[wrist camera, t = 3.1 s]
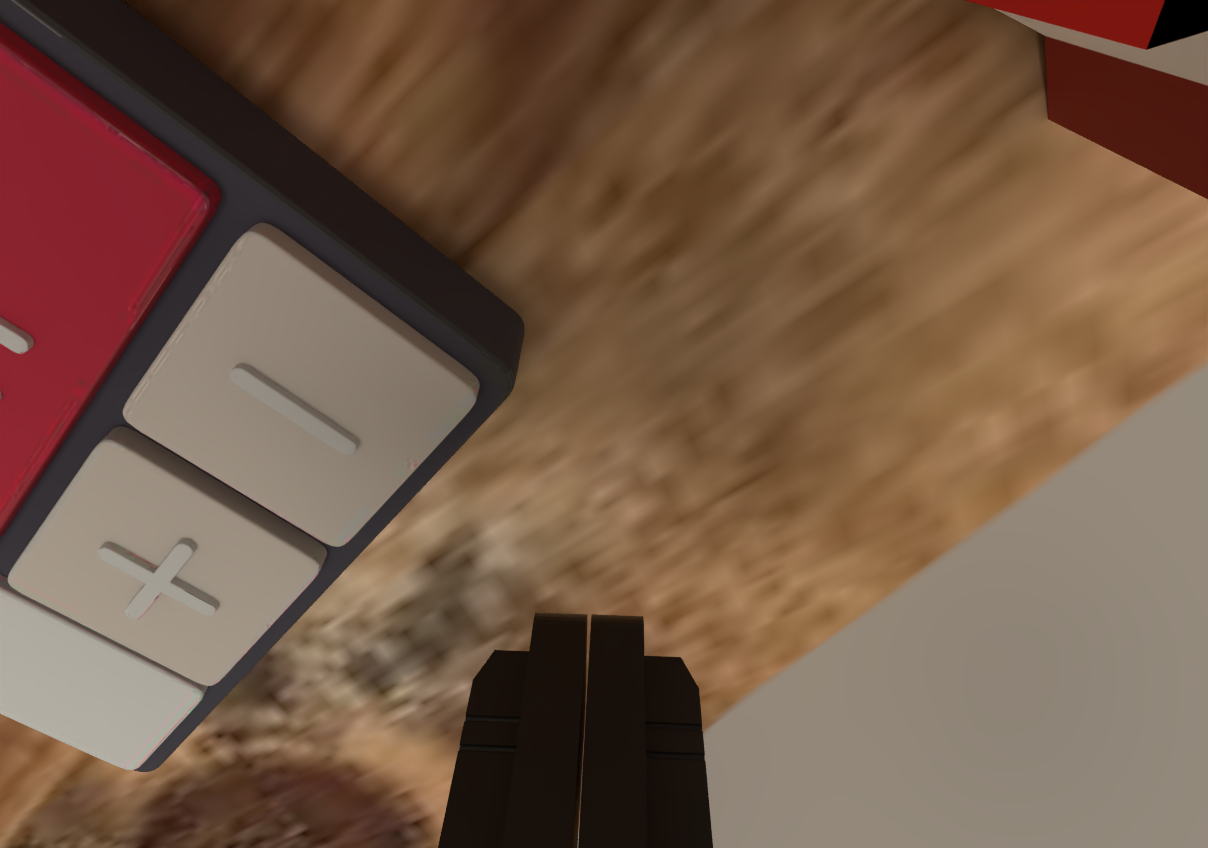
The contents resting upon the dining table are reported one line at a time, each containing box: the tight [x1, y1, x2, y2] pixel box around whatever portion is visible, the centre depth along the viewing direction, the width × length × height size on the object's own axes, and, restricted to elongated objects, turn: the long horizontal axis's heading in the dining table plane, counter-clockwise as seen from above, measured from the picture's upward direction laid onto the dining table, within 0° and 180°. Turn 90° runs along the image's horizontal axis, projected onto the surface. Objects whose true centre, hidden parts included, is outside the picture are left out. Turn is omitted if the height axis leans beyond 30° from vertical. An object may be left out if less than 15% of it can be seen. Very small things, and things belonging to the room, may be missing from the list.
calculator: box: [0, 0, 524, 772], centre depth 17 cm, size 11×4×15 cm
